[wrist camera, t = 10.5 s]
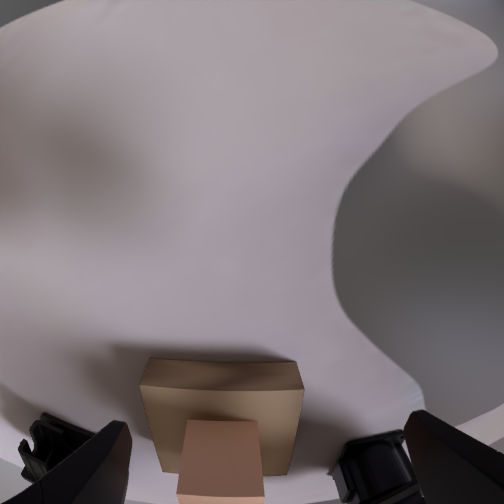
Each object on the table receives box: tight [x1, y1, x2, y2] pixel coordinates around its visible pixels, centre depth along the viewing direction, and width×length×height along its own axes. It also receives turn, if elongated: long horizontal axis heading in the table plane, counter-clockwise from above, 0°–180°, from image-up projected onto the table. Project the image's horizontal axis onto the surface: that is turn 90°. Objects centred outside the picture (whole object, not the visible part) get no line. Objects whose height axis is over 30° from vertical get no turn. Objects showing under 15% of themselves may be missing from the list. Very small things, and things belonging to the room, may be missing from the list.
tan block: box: [139, 358, 305, 476], centre depth 19 cm, size 10×10×3 cm
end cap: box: [18, 412, 129, 504], centre depth 19 cm, size 10×7×7 cm
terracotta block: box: [176, 420, 265, 504], centre depth 15 cm, size 4×4×6 cm
